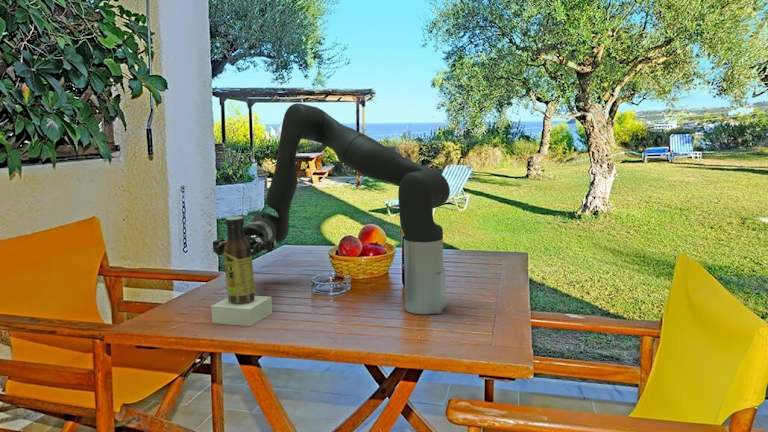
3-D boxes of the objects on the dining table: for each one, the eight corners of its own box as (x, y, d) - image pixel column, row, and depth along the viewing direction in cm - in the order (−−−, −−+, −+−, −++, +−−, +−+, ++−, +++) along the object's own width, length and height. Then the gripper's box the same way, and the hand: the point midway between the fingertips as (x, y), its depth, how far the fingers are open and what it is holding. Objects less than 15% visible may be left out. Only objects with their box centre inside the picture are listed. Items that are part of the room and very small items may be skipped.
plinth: (272, 312, 141) (271, 296, 141) (250, 326, 132) (249, 309, 131) (235, 310, 144) (234, 294, 144) (212, 322, 135) (211, 306, 134)
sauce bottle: (226, 299, 139) (218, 216, 136) (252, 295, 142) (245, 213, 138) (230, 306, 133) (222, 220, 130) (258, 302, 136) (250, 217, 133)
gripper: (226, 223, 149) (204, 235, 133) (281, 222, 149) (266, 234, 133) (228, 252, 151) (206, 267, 134) (283, 251, 150) (268, 266, 134)
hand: (236, 250), depth 134 cm, fingers open, 8 cm apart
